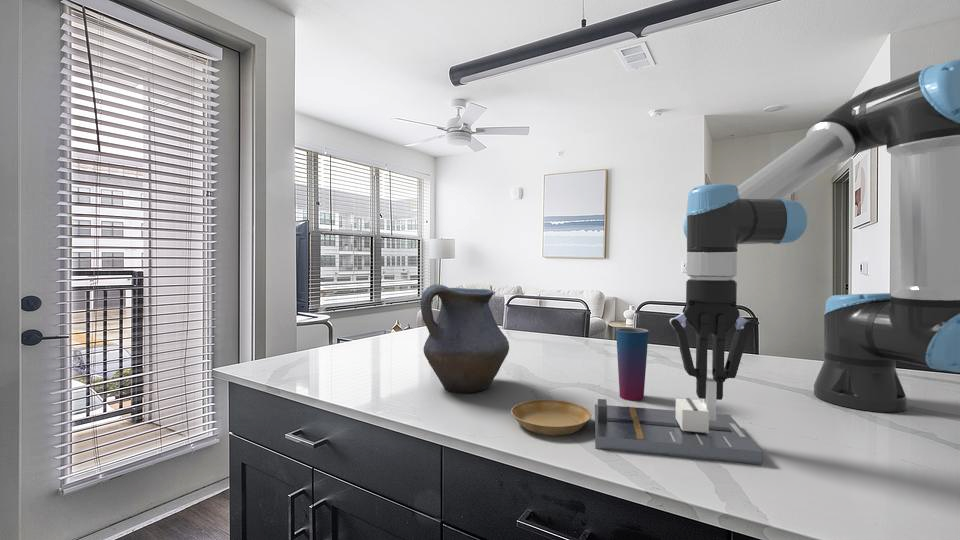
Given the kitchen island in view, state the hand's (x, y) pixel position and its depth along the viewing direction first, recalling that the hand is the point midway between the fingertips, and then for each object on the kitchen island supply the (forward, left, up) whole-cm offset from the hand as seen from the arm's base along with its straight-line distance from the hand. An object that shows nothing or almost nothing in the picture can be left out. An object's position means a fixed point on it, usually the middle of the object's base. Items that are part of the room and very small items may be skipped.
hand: (709, 417), depth 75 cm
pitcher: (+49, -19, -4) cm, 52 cm away
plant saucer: (+27, -1, -4) cm, 27 cm away
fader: (+3, 0, -2) cm, 3 cm away
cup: (+11, -21, -4) cm, 24 cm away
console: (+7, 0, -4) cm, 8 cm away
